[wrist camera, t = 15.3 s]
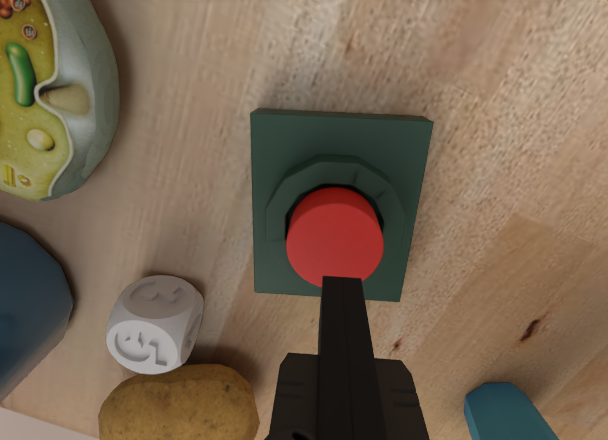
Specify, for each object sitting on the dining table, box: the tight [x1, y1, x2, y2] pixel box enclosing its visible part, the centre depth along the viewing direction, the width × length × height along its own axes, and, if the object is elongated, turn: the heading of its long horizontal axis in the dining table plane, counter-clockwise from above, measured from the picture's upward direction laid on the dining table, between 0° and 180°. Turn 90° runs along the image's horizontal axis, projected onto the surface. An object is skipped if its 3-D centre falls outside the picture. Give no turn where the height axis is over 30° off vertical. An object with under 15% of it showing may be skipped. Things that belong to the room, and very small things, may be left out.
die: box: [106, 275, 204, 374], centre depth 25 cm, size 5×5×5 cm
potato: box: [98, 364, 260, 440], centre depth 28 cm, size 9×13×7 cm
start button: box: [286, 187, 384, 287], centre depth 19 cm, size 5×5×3 cm
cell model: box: [0, 0, 120, 201], centre depth 18 cm, size 11×8×15 cm
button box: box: [250, 108, 434, 302], centre depth 21 cm, size 12×10×4 cm
